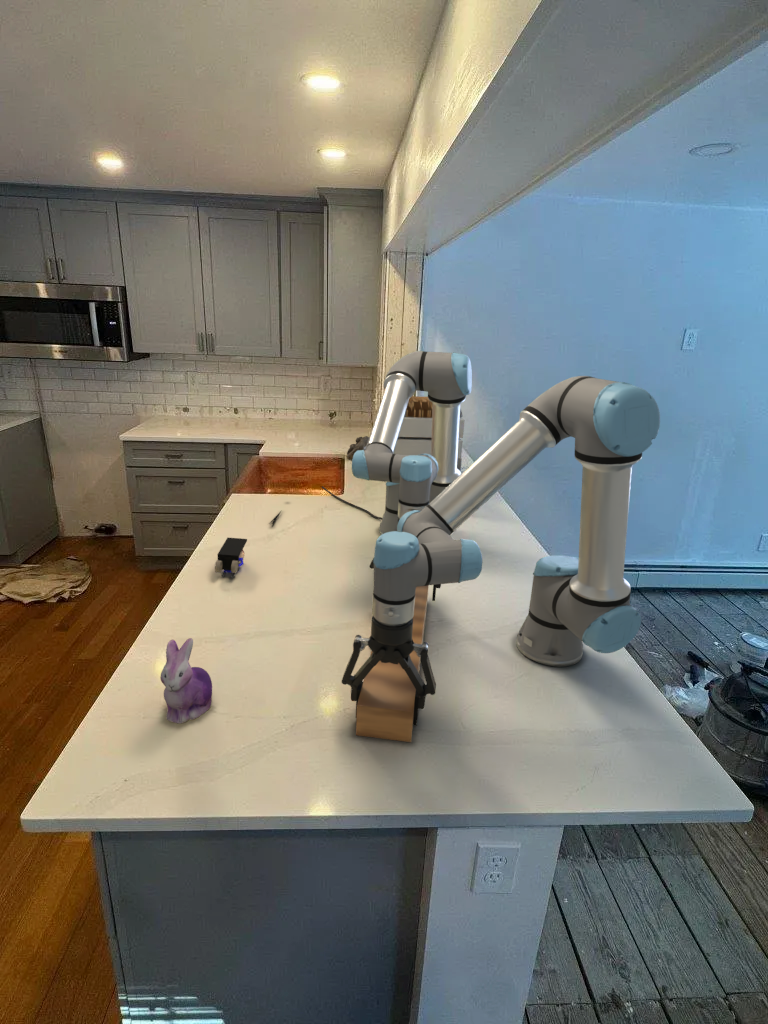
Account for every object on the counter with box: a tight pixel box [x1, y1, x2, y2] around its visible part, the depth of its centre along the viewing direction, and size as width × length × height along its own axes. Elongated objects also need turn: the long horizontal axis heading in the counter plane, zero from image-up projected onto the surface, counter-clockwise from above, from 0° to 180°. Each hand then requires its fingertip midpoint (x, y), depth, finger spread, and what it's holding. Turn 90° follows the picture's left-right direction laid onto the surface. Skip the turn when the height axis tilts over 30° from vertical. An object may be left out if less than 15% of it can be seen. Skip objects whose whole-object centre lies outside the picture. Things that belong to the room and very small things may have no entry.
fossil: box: [346, 435, 370, 461], centre depth 300 cm, size 22×10×15 cm
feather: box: [268, 510, 282, 527], centre depth 212 cm, size 2×28×2 cm
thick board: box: [355, 585, 430, 743], centre depth 128 cm, size 53×10×7 cm, turn 173°
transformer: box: [393, 395, 465, 472], centre depth 268 cm, size 34×33×41 cm
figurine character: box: [214, 537, 248, 578], centre depth 166 cm, size 7×8×15 cm
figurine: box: [159, 637, 213, 724], centre depth 107 cm, size 9×10×15 cm
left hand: (407, 596), depth 147 cm, fingers open, 13 cm apart
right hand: (386, 717), depth 109 cm, fingers closed on thick board, 10 cm apart
